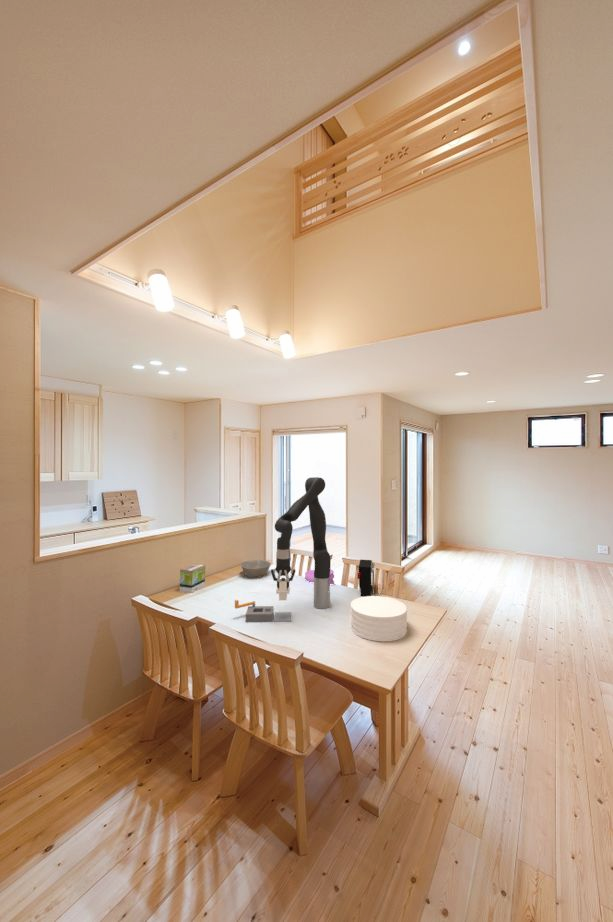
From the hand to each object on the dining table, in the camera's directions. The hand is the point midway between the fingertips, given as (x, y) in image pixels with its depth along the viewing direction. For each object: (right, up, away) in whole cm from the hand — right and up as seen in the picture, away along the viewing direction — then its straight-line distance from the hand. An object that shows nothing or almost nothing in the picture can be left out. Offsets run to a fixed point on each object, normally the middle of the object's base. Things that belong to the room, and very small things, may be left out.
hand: (283, 588), depth 201 cm
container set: (+23, -17, +57) cm, 63 cm away
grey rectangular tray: (-12, -16, -1) cm, 20 cm away
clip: (-21, -12, +2) cm, 24 cm away
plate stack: (+49, -16, -13) cm, 54 cm away
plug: (0, -6, 0) cm, 6 cm away
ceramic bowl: (-25, -17, +70) cm, 76 cm away
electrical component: (+51, -17, +35) cm, 64 cm away
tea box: (-63, -16, +45) cm, 79 cm away
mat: (0, -16, 0) cm, 16 cm away
